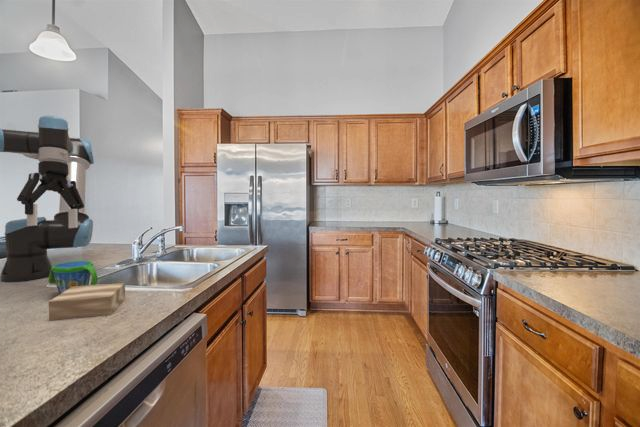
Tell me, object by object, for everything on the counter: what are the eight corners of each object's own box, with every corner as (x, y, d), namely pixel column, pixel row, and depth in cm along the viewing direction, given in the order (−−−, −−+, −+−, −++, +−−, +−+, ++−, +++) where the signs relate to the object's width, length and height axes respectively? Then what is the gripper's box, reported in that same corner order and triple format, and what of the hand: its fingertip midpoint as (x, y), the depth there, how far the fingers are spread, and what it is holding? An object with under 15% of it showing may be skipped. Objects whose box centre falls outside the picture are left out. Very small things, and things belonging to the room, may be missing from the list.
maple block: (72, 302, 94) (72, 286, 94) (125, 298, 99) (124, 282, 98) (49, 320, 81) (48, 301, 81) (111, 314, 86) (110, 296, 85)
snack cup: (107, 291, 106) (106, 261, 105) (78, 301, 95) (76, 269, 95) (70, 287, 109) (69, 259, 108) (37, 297, 98) (36, 266, 98)
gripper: (23, 150, 89) (23, 223, 87) (95, 170, 114) (96, 227, 112) (0, 153, 90) (-1, 225, 88) (77, 173, 115) (78, 229, 112)
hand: (54, 227), depth 100 cm, fingers open, 13 cm apart
